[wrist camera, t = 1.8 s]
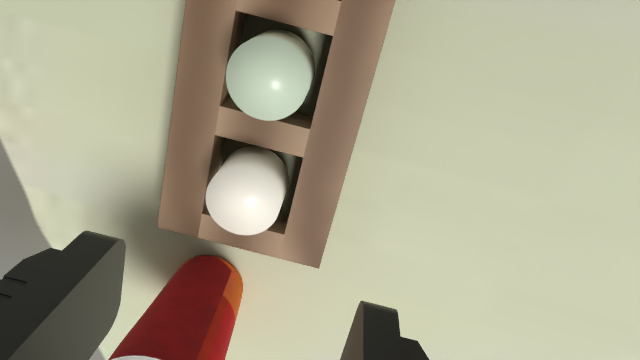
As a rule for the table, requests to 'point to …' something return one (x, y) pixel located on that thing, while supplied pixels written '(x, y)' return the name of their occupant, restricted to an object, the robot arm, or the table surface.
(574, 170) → the table surface
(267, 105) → the sage button
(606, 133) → the table surface
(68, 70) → the table surface
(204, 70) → the button board
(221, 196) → the cream button
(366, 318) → the robot arm
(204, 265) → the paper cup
